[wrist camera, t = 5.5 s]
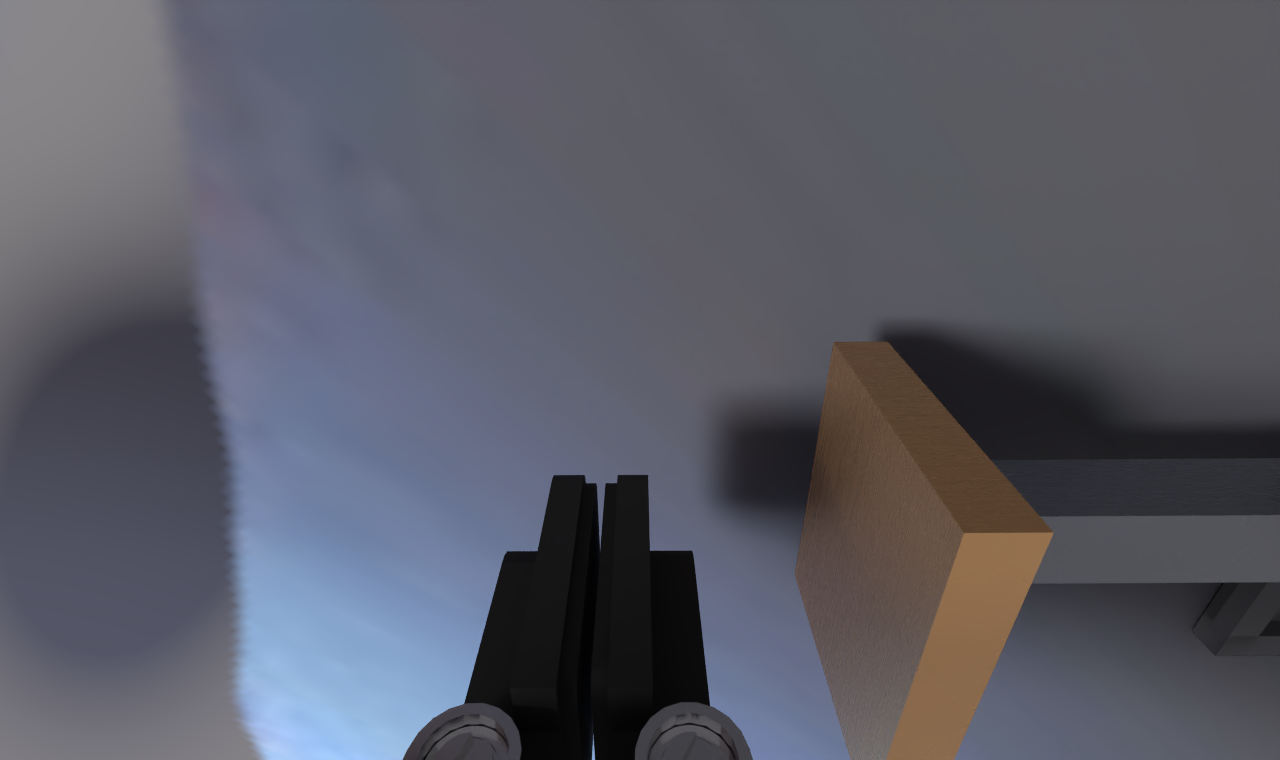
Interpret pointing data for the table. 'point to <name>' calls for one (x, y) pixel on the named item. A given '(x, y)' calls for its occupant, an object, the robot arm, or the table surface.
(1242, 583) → the tray
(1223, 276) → the table surface
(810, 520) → the slider
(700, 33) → the table surface
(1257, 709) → the table surface
